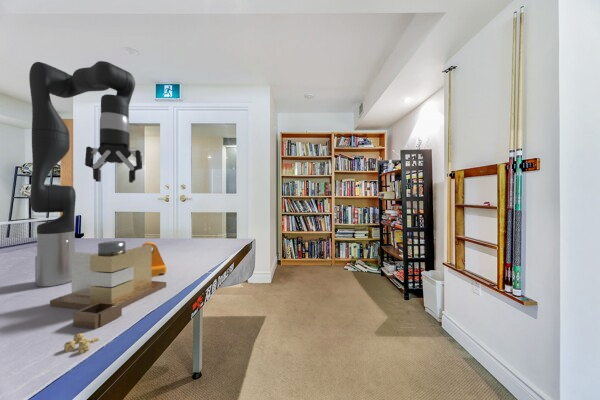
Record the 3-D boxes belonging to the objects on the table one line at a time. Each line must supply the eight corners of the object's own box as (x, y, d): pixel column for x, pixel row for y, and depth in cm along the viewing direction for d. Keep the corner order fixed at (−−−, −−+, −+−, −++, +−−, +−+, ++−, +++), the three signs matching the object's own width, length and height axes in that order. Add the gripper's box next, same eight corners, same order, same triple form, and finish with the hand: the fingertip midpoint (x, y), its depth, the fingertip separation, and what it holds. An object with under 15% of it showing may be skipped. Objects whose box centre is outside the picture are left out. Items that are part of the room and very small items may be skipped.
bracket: (132, 279, 88) (132, 246, 88) (132, 274, 94) (132, 243, 94) (166, 274, 94) (166, 243, 94) (164, 270, 100) (164, 240, 100)
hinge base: (13, 318, 59) (13, 261, 59) (115, 282, 85) (115, 242, 85) (96, 329, 55) (96, 267, 55) (176, 287, 81) (176, 245, 80)
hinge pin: (92, 298, 66) (92, 244, 66) (113, 290, 72) (113, 240, 72) (111, 300, 65) (111, 245, 65) (130, 291, 71) (130, 241, 71)
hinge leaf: (133, 292, 71) (133, 252, 71) (111, 301, 65) (111, 258, 64) (86, 287, 74) (86, 249, 74) (60, 296, 68) (60, 255, 68)
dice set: (85, 356, 46) (85, 346, 46) (55, 358, 46) (56, 347, 46) (104, 341, 51) (104, 332, 51) (78, 342, 51) (78, 332, 51)
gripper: (81, 124, 71) (81, 180, 71) (139, 130, 77) (139, 182, 77) (91, 130, 78) (91, 182, 78) (143, 135, 84) (143, 183, 84)
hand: (115, 182), depth 78 cm, fingers open, 8 cm apart
